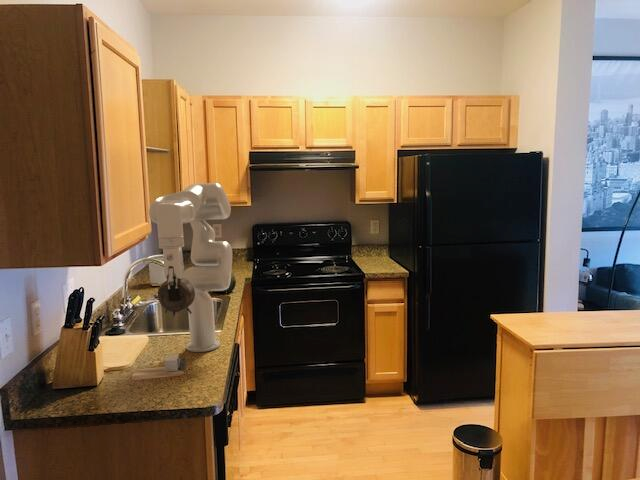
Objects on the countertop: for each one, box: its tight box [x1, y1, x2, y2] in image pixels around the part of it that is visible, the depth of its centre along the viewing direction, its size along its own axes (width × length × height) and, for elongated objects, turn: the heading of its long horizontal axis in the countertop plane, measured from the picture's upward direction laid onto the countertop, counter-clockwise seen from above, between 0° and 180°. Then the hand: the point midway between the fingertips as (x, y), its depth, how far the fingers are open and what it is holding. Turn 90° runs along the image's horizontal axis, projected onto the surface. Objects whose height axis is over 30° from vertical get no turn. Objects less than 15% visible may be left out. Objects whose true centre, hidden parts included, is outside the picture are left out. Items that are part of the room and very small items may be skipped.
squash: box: [212, 272, 237, 293], centre depth 262 cm, size 14×15×15 cm
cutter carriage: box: [164, 353, 181, 372], centre depth 156 cm, size 5×5×4 cm
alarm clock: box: [157, 277, 195, 317], centre depth 147 cm, size 11×5×16 cm, turn 83°
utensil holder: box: [147, 254, 166, 284], centre depth 284 cm, size 15×15×18 cm
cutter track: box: [131, 356, 187, 381], centre depth 155 cm, size 5×17×4 cm, turn 100°
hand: (175, 297), depth 148 cm, fingers closed on alarm clock, 6 cm apart
